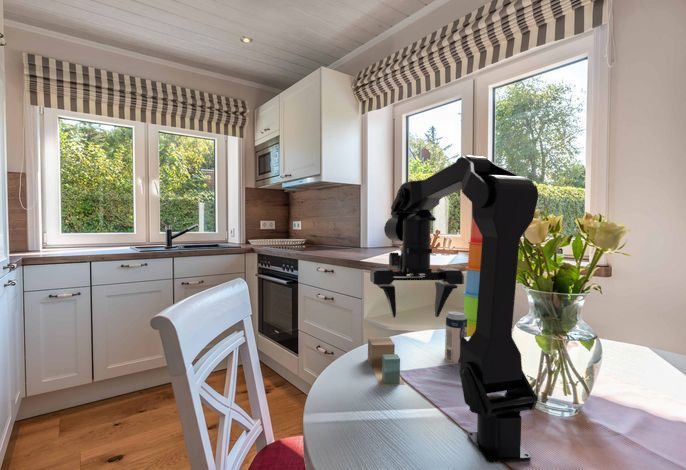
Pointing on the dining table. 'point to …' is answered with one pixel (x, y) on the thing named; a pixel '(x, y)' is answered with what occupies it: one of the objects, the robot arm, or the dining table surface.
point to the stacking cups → (473, 278)
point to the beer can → (454, 334)
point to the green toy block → (389, 371)
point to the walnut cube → (379, 350)
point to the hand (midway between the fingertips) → (415, 316)
